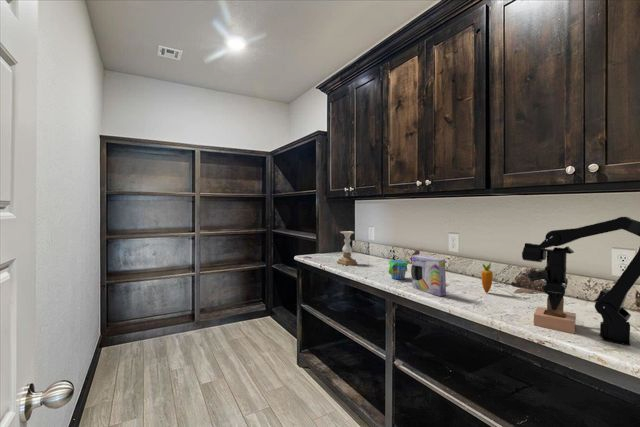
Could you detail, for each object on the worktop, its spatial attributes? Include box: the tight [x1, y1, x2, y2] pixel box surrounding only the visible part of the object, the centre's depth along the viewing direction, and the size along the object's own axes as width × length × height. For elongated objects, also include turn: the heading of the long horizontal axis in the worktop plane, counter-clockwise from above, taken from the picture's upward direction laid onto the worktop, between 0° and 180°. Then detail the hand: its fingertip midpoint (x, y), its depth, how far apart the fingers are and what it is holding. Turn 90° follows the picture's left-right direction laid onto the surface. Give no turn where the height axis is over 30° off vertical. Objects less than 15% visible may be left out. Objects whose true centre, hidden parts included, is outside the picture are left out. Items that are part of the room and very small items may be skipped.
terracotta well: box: [533, 306, 577, 334], centre depth 113 cm, size 12×12×4 cm
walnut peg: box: [546, 295, 565, 318], centre depth 113 cm, size 4×4×10 cm
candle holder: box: [336, 230, 358, 267], centre depth 227 cm, size 11×11×24 cm
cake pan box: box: [410, 254, 447, 297], centre depth 156 cm, size 19×5×18 cm, turn 27°
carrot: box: [481, 262, 494, 294], centre depth 154 cm, size 5×5×15 cm
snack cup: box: [388, 259, 409, 280], centre depth 183 cm, size 16×10×10 cm
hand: (554, 306), depth 113 cm, fingers open, 9 cm apart
